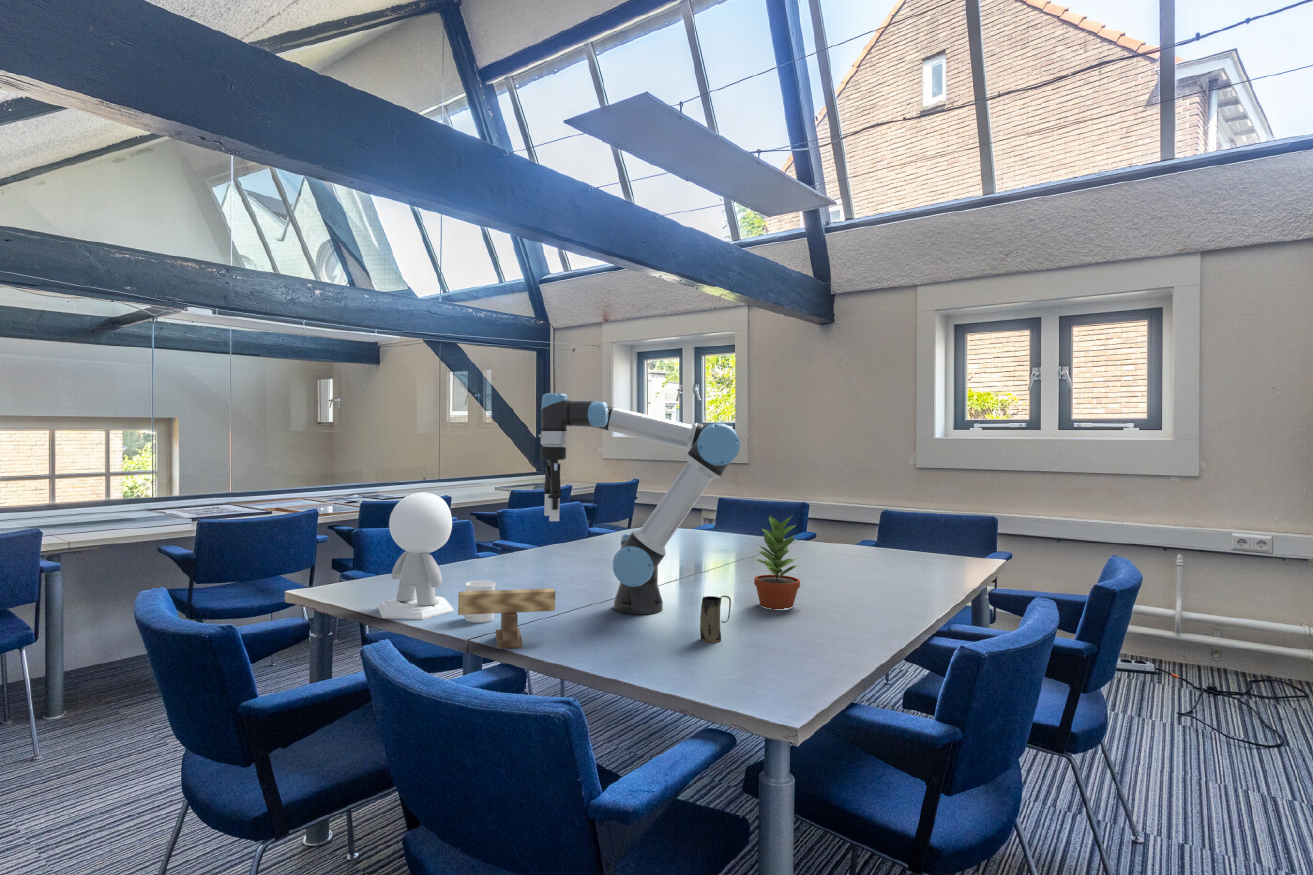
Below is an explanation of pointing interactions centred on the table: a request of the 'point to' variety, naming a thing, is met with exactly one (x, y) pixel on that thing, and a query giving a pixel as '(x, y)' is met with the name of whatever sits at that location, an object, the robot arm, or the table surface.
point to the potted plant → (777, 569)
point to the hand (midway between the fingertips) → (551, 518)
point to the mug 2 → (711, 619)
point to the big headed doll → (418, 557)
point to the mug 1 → (479, 587)
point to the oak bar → (506, 601)
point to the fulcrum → (508, 632)
